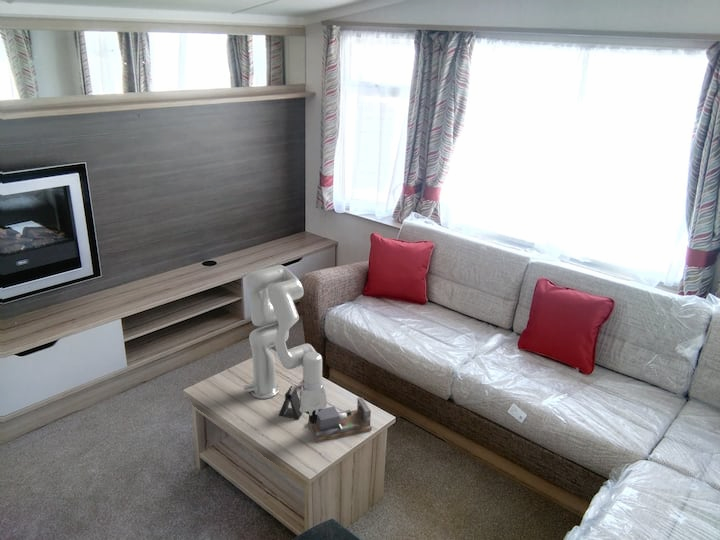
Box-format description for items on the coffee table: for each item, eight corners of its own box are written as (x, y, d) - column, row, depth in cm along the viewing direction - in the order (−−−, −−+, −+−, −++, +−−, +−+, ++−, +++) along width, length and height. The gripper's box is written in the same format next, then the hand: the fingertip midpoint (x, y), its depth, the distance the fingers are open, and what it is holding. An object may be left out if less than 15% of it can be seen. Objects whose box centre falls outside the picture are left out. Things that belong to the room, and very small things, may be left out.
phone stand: (303, 411, 247) (303, 387, 242) (298, 419, 241) (298, 395, 237) (284, 407, 249) (283, 383, 244) (278, 415, 244) (277, 391, 239)
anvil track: (317, 442, 228) (317, 424, 225) (308, 422, 239) (308, 405, 236) (371, 430, 236) (372, 412, 233) (360, 412, 247) (360, 395, 244)
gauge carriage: (322, 436, 228) (322, 424, 226) (315, 422, 237) (315, 410, 235) (351, 430, 232) (351, 418, 230) (343, 416, 241) (343, 404, 239)
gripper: (296, 391, 219) (297, 431, 226) (333, 384, 224) (333, 423, 231) (291, 380, 226) (292, 419, 233) (328, 374, 231) (328, 412, 238)
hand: (312, 421), depth 232 cm, fingers closed
